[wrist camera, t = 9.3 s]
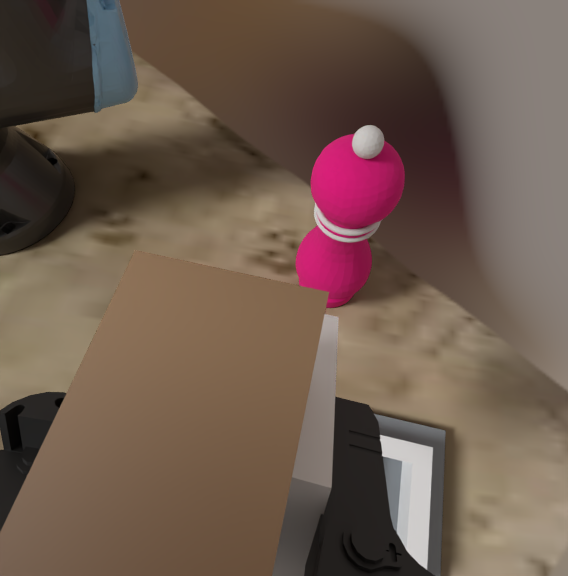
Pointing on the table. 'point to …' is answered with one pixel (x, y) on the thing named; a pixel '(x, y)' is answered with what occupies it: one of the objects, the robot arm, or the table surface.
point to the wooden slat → (173, 431)
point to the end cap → (415, 486)
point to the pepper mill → (348, 212)
